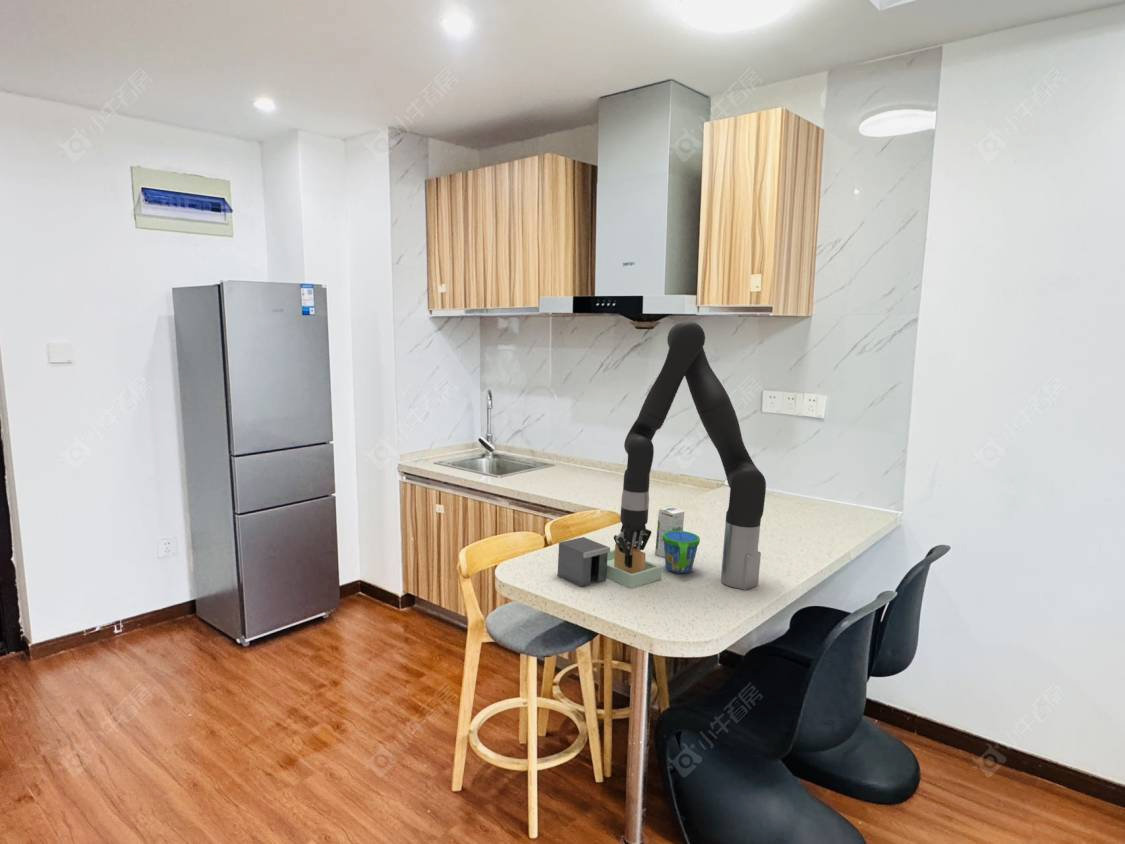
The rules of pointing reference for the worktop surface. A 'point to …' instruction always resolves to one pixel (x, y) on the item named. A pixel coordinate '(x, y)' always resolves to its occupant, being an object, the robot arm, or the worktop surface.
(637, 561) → the brown rectangular block
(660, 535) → the syrup box
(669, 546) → the snack cup
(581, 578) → the box
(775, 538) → the worktop surface
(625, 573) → the tray
